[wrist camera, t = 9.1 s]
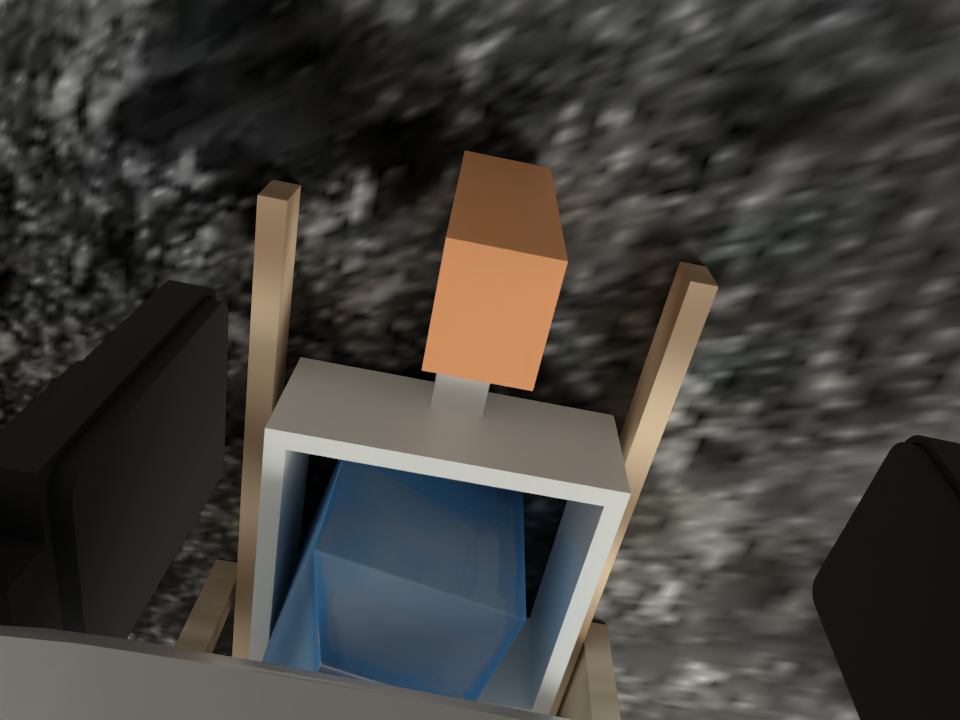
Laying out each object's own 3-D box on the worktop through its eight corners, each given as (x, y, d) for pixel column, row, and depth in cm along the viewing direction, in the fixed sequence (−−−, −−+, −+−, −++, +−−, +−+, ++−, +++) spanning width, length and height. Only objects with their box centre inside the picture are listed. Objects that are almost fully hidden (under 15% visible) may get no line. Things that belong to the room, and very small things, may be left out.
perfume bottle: (301, 546, 28) (178, 903, 18) (354, 419, 25) (247, 754, 15) (455, 597, 29) (425, 964, 19) (522, 481, 26) (531, 835, 16)
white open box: (322, 120, 20) (242, 196, 14) (687, 196, 21) (760, 300, 15) (279, 587, 29) (216, 761, 23) (541, 631, 29) (549, 812, 23)
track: (272, 179, 22) (257, 195, 20) (706, 266, 22) (718, 286, 21) (235, 763, 35) (224, 796, 33) (509, 805, 35) (509, 838, 34)
